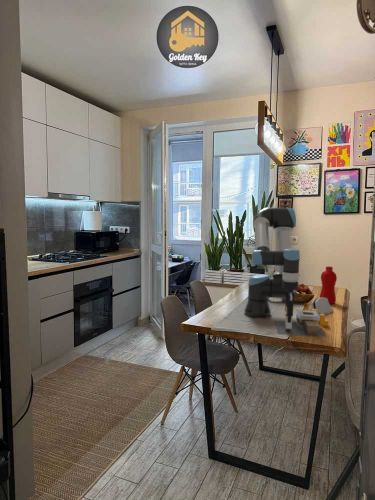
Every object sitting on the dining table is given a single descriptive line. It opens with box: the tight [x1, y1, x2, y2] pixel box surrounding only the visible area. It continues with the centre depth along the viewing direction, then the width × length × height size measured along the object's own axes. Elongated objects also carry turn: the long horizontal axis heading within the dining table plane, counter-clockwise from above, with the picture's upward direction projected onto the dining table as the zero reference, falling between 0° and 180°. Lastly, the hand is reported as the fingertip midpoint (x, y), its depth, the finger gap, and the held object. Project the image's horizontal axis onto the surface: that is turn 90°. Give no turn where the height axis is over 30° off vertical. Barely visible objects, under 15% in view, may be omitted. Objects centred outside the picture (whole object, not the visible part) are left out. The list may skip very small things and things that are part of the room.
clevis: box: [295, 309, 321, 336], centre depth 176 cm, size 10×20×7 cm, turn 170°
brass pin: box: [284, 305, 291, 331], centre depth 171 cm, size 4×4×12 cm
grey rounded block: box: [311, 297, 334, 315], centre depth 211 cm, size 17×5×10 cm, turn 134°
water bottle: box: [319, 266, 338, 305], centre depth 236 cm, size 9×11×25 cm
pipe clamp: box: [310, 308, 329, 327], centre depth 188 cm, size 12×4×6 cm, turn 2°
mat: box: [274, 320, 327, 338], centre depth 177 cm, size 22×23×1 cm
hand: (288, 327), depth 171 cm, fingers closed on brass pin, 3 cm apart
